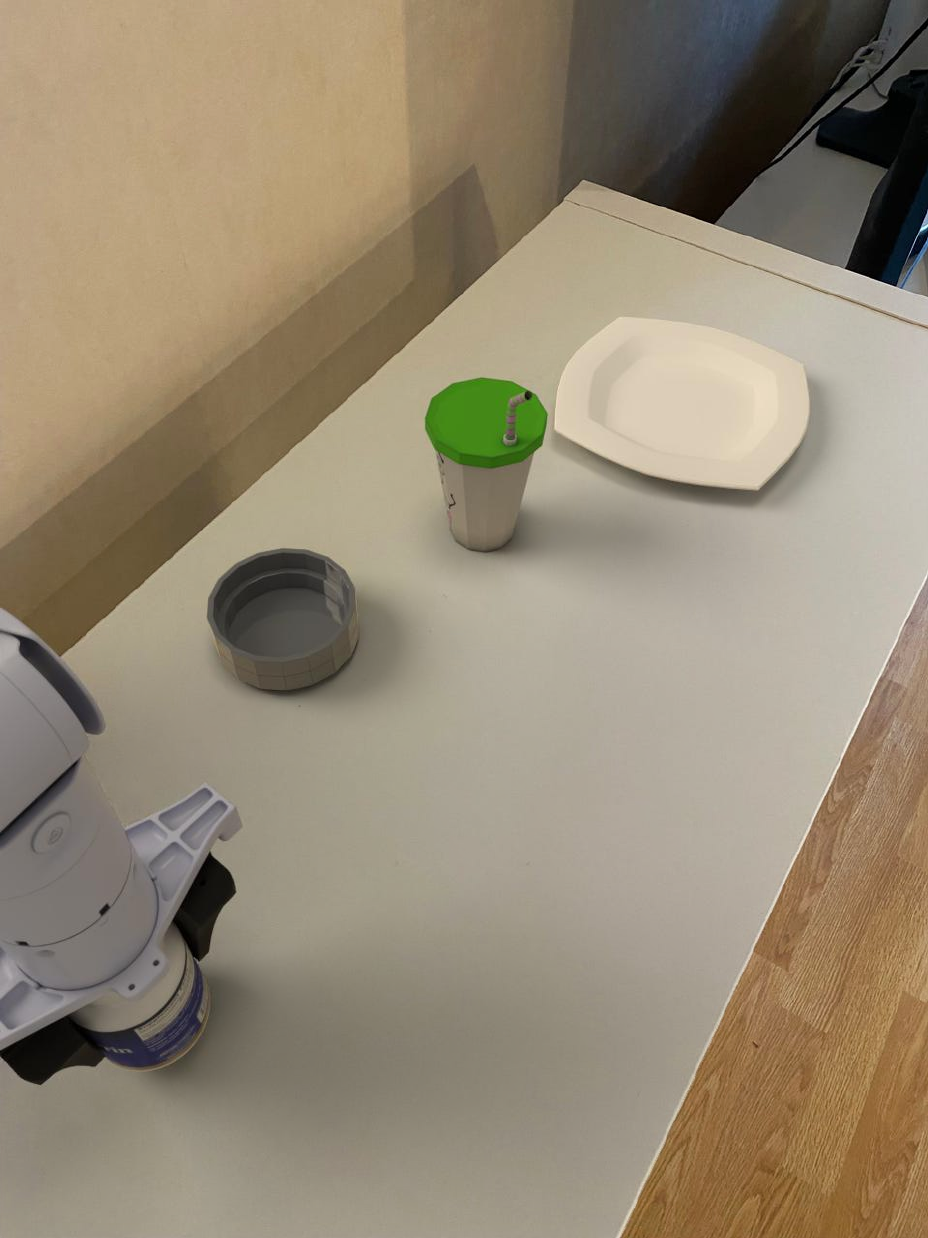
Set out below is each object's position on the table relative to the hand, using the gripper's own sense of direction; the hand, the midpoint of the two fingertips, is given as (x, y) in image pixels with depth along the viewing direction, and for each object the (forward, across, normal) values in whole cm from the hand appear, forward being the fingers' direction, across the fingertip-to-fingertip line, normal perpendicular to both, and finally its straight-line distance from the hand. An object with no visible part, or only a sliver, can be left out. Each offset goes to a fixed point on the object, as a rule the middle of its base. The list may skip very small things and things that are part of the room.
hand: (139, 995), depth 48 cm
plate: (+4, +57, +4) cm, 57 cm away
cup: (+4, +37, +9) cm, 38 cm away
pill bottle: (+3, 0, 0) cm, 3 cm away
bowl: (+4, +21, +12) cm, 25 cm away
